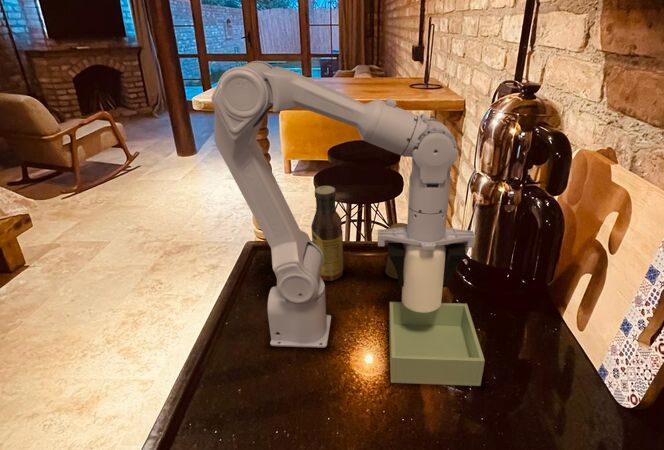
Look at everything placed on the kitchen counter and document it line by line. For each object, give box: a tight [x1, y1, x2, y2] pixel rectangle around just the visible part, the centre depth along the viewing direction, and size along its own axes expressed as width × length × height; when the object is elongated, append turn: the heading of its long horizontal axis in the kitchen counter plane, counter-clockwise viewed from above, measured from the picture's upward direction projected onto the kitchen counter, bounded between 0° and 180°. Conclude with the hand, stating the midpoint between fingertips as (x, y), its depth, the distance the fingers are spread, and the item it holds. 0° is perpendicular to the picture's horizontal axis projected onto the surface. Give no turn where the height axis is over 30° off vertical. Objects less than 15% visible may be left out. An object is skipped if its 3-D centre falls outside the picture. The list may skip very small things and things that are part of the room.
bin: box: [388, 301, 486, 387], centre depth 65 cm, size 13×13×5 cm
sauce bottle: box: [310, 185, 344, 282], centre depth 83 cm, size 6×6×20 cm
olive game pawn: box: [384, 222, 407, 280], centre depth 85 cm, size 6×6×11 cm
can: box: [401, 244, 446, 313], centre depth 65 cm, size 6×6×12 cm
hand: (422, 283), depth 66 cm, fingers closed on can, 6 cm apart
